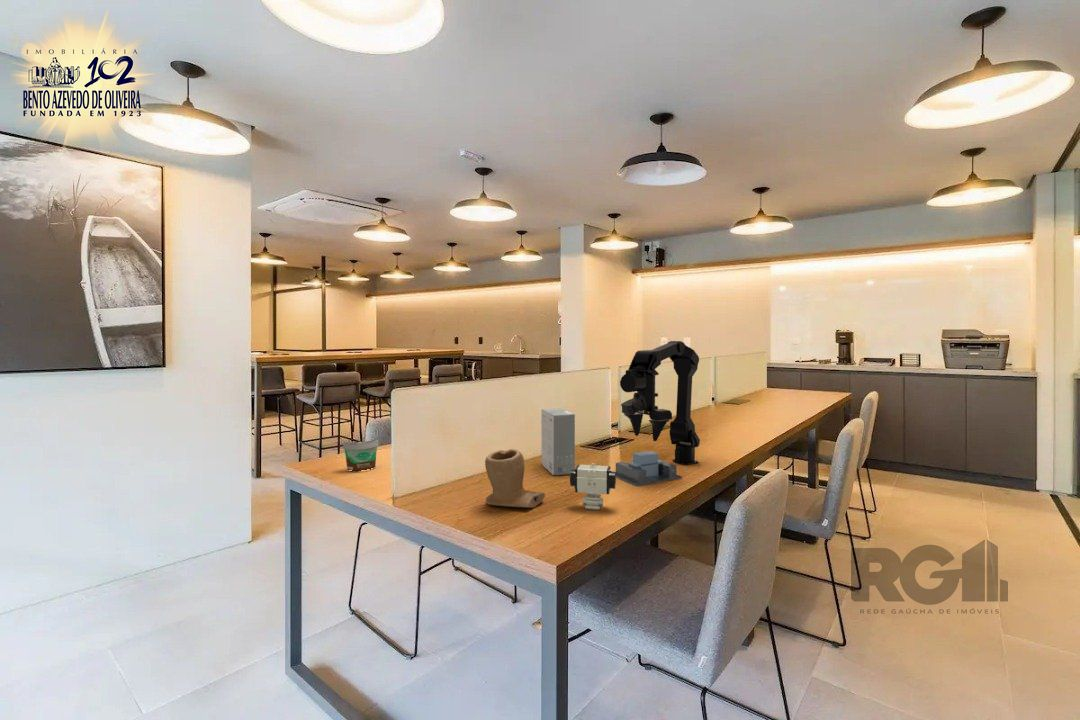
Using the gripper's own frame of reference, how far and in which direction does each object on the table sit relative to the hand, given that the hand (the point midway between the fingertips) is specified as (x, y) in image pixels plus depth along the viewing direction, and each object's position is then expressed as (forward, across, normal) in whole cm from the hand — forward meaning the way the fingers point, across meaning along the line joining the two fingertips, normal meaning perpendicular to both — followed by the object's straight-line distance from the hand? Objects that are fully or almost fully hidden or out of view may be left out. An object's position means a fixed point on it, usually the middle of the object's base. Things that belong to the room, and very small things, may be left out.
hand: (645, 438), depth 160 cm
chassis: (+12, 0, 0) cm, 13 cm away
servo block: (+12, 0, 0) cm, 12 cm away
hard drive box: (+13, -21, -21) cm, 32 cm away
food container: (+13, -51, -80) cm, 96 cm away
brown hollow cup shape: (+13, +5, -49) cm, 51 cm away
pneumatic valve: (+13, +17, -31) cm, 37 cm away
